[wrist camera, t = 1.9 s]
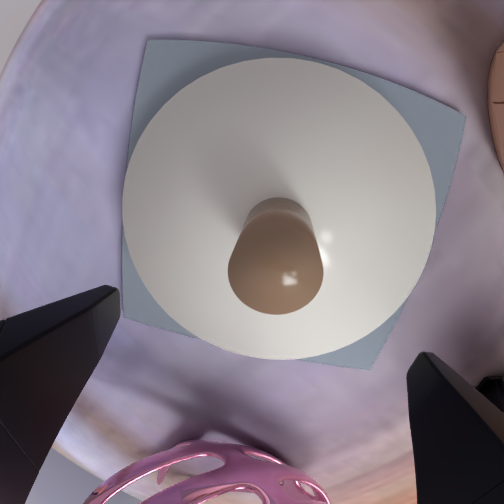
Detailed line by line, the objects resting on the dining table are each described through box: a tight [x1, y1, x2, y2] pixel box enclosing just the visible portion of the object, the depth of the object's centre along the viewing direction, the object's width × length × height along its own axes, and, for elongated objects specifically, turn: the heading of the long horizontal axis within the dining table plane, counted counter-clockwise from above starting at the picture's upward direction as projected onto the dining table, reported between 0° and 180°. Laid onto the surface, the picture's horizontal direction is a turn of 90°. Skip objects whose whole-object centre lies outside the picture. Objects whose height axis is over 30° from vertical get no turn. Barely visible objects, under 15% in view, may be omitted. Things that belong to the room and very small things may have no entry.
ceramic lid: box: [122, 58, 436, 360], centre depth 14 cm, size 18×18×6 cm
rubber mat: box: [122, 40, 466, 370], centre depth 17 cm, size 19×19×1 cm
